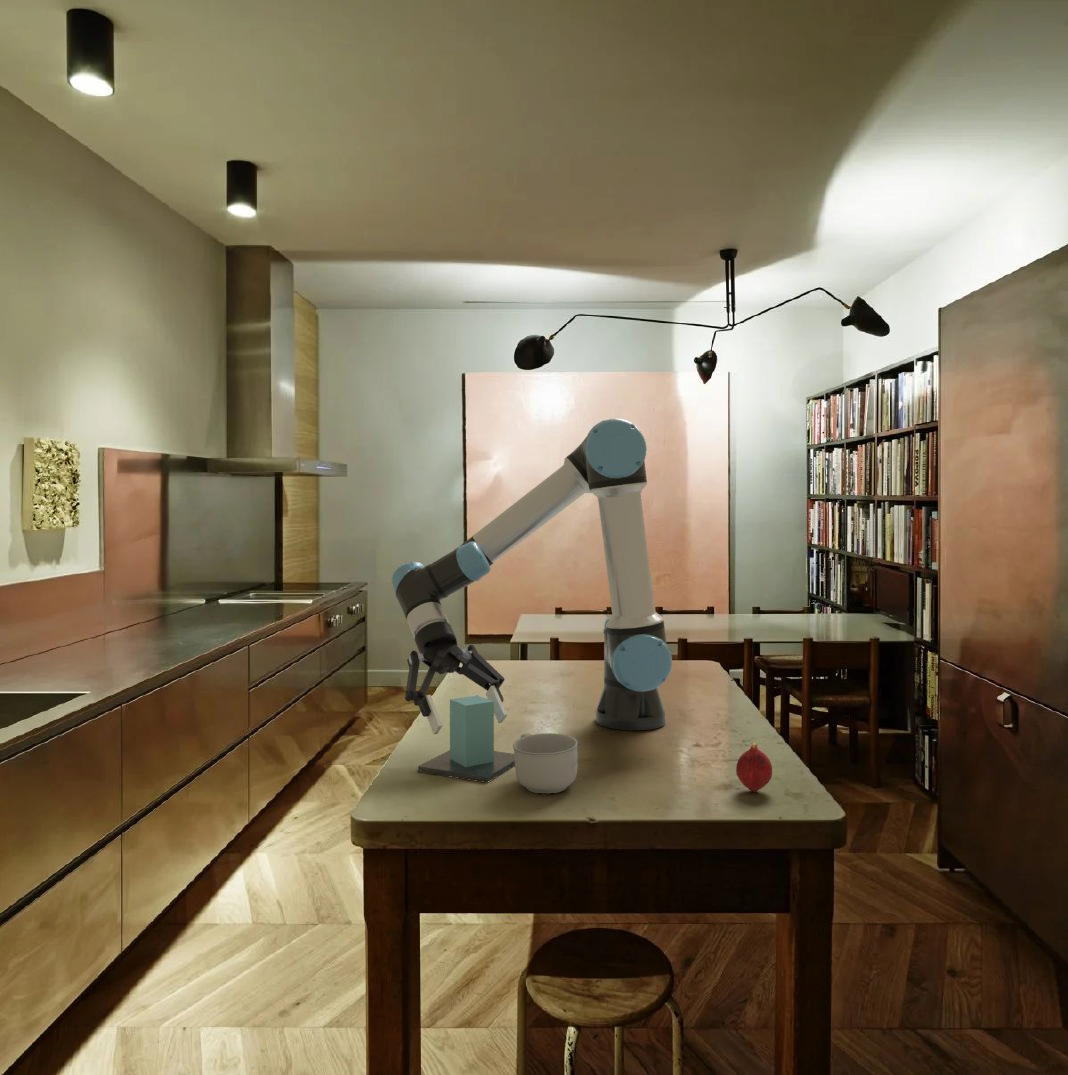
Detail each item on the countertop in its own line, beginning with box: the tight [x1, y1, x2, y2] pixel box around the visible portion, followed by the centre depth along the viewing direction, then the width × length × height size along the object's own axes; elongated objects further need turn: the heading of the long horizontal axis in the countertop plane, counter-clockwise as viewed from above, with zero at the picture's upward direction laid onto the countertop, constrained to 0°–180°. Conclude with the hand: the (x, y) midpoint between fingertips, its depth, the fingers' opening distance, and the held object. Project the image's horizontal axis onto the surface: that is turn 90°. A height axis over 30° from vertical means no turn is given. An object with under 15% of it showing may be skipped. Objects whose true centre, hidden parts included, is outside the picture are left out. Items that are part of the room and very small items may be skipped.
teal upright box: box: [449, 695, 495, 767], centre depth 153 cm, size 6×6×11 cm
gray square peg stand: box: [417, 749, 515, 783], centre depth 153 cm, size 14×14×9 cm
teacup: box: [512, 732, 579, 794], centre depth 142 cm, size 14×11×8 cm
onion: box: [735, 742, 773, 793], centre depth 139 cm, size 6×6×8 cm
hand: (471, 724), depth 152 cm, fingers open, 13 cm apart
